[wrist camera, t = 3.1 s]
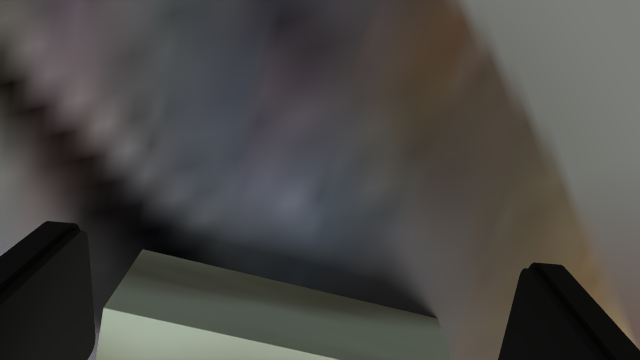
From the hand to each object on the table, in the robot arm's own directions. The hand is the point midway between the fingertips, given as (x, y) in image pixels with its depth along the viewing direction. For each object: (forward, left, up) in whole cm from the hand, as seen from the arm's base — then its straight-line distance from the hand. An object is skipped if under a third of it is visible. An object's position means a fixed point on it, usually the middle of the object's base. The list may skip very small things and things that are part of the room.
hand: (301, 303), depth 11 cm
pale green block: (+7, -1, -8) cm, 11 cm away
